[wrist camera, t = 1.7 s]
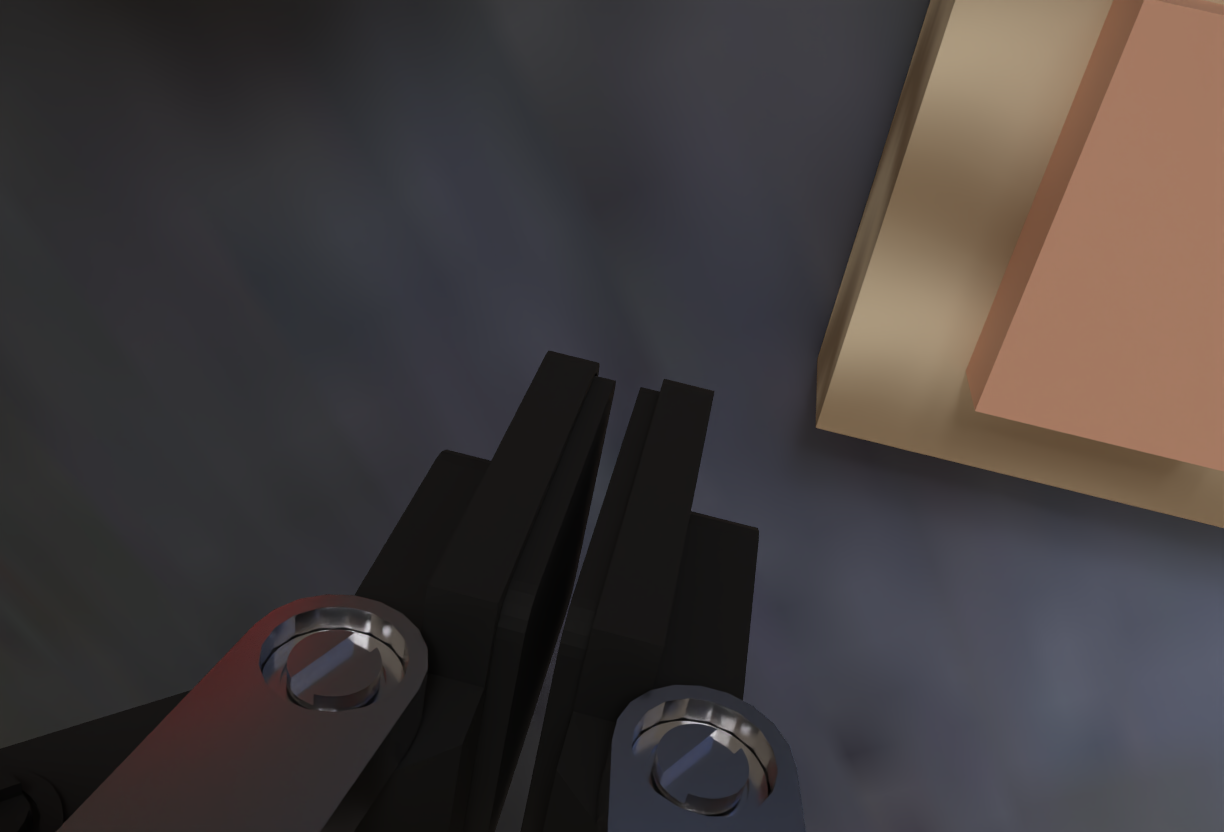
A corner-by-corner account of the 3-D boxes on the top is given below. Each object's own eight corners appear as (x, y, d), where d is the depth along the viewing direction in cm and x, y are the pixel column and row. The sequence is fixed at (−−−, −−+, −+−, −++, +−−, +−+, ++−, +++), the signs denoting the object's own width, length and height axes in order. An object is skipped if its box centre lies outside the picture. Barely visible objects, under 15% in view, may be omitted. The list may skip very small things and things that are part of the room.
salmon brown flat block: (1120, -18, 22) (1144, -3, 20) (1425, 48, 21) (1476, 70, 20) (965, 371, 26) (975, 411, 25) (1214, 431, 26) (1241, 475, 24)
